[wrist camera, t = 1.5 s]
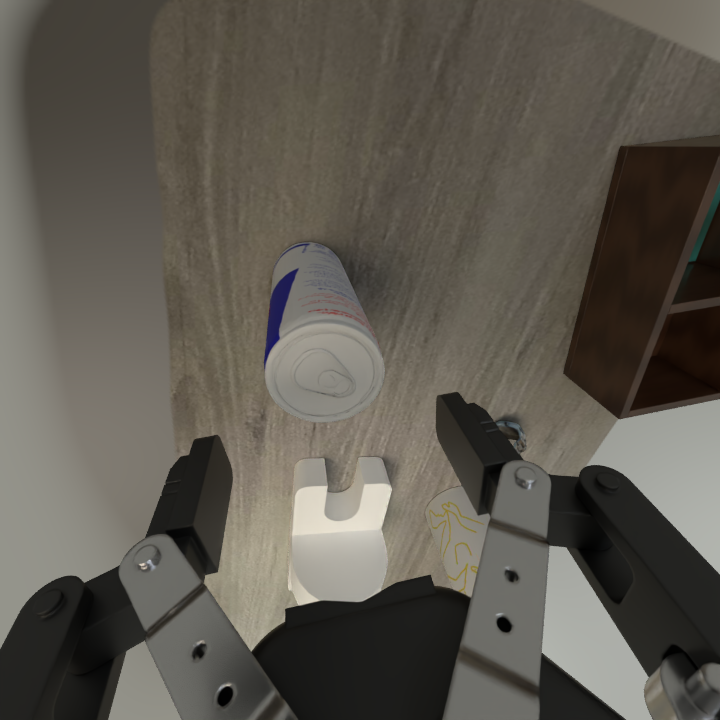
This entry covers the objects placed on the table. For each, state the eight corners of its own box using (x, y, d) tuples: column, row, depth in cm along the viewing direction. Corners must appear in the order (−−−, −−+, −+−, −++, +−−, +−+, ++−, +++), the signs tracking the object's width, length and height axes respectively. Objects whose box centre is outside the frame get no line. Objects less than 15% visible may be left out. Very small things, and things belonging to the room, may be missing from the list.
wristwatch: (489, 431, 44) (531, 438, 40) (472, 464, 41) (516, 474, 37) (482, 413, 42) (525, 418, 39) (464, 445, 40) (508, 454, 36)
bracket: (361, 556, 50) (379, 653, 40) (287, 562, 48) (287, 667, 38) (385, 456, 41) (415, 552, 31) (295, 458, 39) (297, 562, 29)
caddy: (619, 146, 28) (723, 146, 21) (744, 131, 29) (878, 127, 22) (562, 373, 39) (618, 419, 33) (654, 356, 40) (726, 398, 34)
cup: (452, 479, 45) (501, 576, 35) (495, 496, 48) (550, 588, 38) (413, 518, 48) (447, 619, 38) (455, 531, 51) (497, 627, 41)
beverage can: (270, 239, 27) (257, 323, 14) (344, 241, 28) (393, 321, 15) (274, 309, 30) (266, 430, 17) (342, 308, 31) (381, 422, 18)
